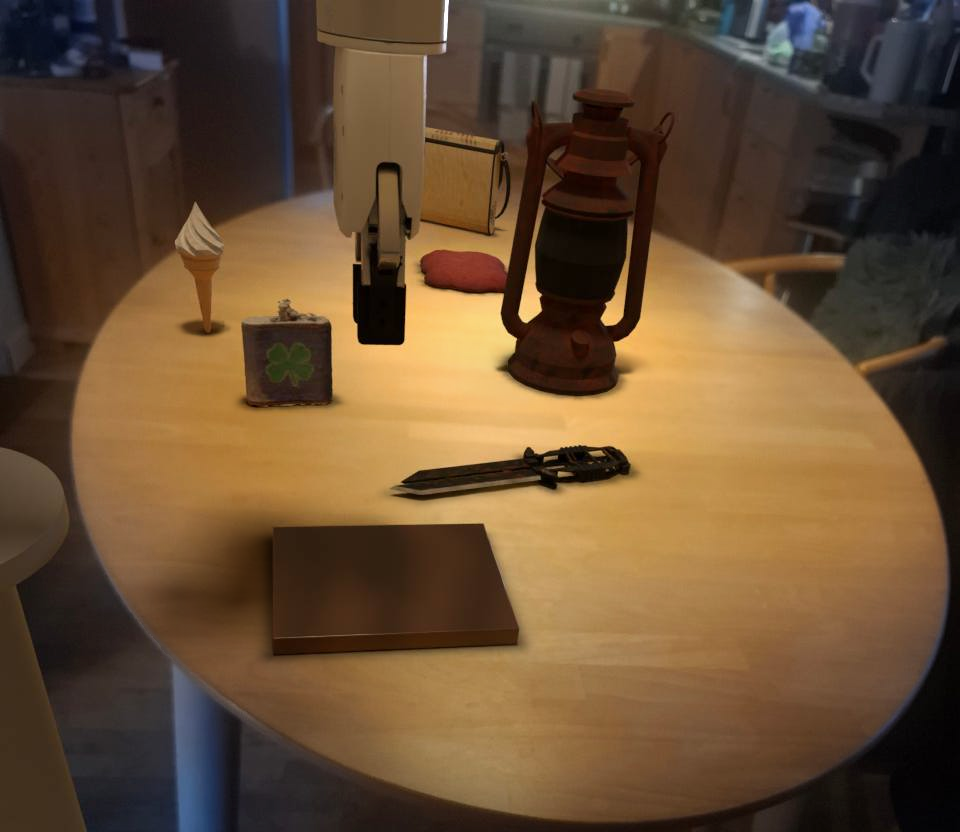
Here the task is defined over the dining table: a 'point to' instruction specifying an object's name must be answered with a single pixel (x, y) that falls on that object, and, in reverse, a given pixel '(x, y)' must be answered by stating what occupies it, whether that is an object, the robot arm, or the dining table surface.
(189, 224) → the ice cream cone
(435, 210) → the clutch purse
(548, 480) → the knife
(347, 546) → the serving board
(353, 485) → the dining table surface
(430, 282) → the patty
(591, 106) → the lantern
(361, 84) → the robot arm
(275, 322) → the flask
